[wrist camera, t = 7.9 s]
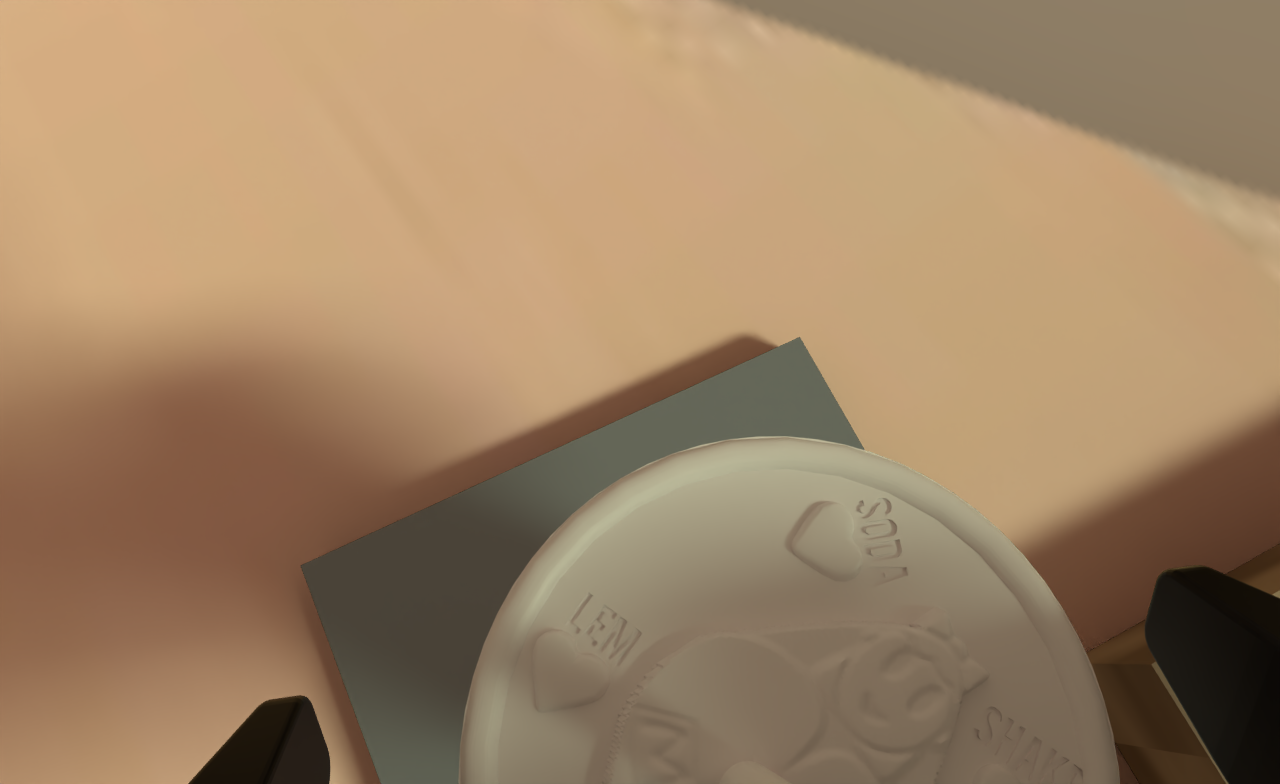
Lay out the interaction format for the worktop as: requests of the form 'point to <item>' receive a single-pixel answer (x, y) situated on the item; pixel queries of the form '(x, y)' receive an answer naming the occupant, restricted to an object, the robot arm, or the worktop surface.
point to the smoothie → (782, 637)
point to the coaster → (514, 554)
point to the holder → (1162, 698)
